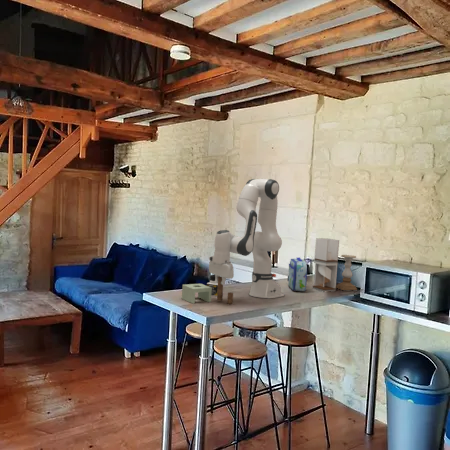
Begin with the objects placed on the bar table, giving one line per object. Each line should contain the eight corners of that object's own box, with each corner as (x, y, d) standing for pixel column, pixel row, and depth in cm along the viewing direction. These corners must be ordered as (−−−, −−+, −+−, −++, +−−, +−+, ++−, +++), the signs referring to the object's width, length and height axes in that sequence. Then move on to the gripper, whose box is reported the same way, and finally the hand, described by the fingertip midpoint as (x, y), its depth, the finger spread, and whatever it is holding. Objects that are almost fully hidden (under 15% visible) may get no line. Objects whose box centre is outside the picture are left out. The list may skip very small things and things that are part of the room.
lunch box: (286, 285, 316) (288, 255, 315) (301, 286, 315) (303, 256, 314) (290, 292, 290) (292, 260, 289) (307, 293, 289) (309, 261, 288)
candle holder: (357, 291, 309) (359, 257, 307) (342, 291, 306) (345, 256, 305) (349, 288, 319) (351, 254, 318) (335, 287, 317) (337, 254, 315)
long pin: (220, 299, 251) (221, 276, 250) (223, 300, 249) (224, 277, 248) (215, 299, 249) (217, 276, 249) (218, 300, 247) (220, 277, 246)
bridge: (200, 297, 258) (200, 283, 258) (210, 301, 248) (211, 287, 248) (181, 298, 252) (182, 284, 251) (192, 303, 242) (193, 288, 241)
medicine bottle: (206, 294, 266) (207, 274, 266) (210, 292, 273) (212, 273, 272) (217, 296, 264) (218, 276, 263) (221, 294, 270) (222, 274, 270)
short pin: (230, 302, 249) (231, 292, 249) (233, 304, 246) (234, 293, 246) (226, 303, 247) (226, 292, 247) (229, 304, 245) (229, 293, 244)
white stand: (312, 288, 308) (316, 238, 306) (323, 287, 314) (327, 238, 312) (323, 291, 298) (327, 239, 296) (335, 291, 304) (339, 240, 302)
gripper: (237, 261, 241) (235, 287, 242) (216, 256, 258) (215, 280, 259) (227, 262, 237) (226, 288, 238) (207, 257, 254) (206, 280, 255)
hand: (220, 283), depth 248 cm, fingers closed on long pin, 3 cm apart
